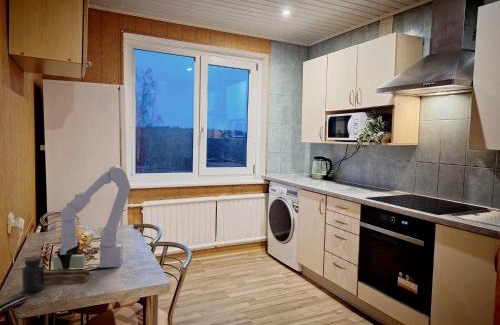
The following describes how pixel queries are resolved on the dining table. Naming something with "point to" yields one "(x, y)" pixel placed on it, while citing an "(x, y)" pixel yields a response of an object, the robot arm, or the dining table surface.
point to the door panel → (75, 262)
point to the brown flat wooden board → (66, 277)
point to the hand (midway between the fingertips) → (69, 265)
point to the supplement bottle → (32, 276)
